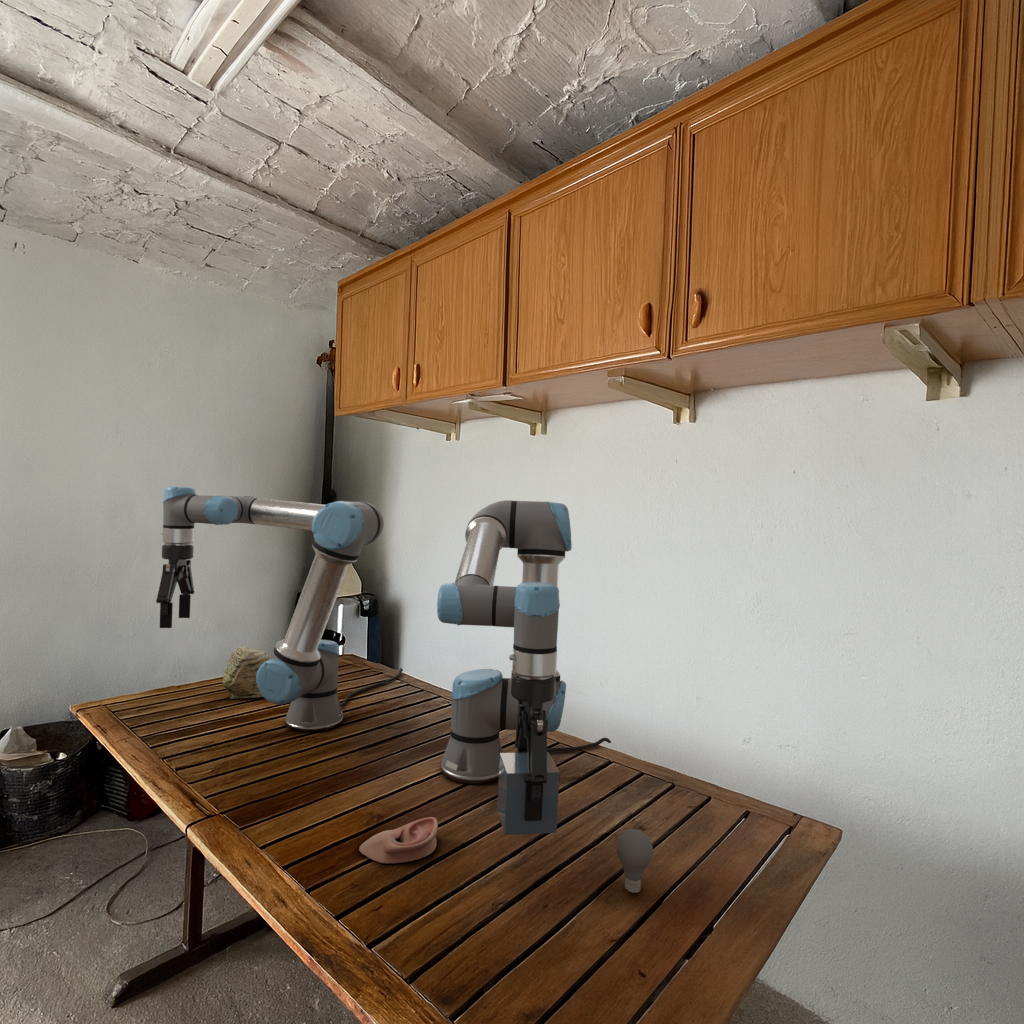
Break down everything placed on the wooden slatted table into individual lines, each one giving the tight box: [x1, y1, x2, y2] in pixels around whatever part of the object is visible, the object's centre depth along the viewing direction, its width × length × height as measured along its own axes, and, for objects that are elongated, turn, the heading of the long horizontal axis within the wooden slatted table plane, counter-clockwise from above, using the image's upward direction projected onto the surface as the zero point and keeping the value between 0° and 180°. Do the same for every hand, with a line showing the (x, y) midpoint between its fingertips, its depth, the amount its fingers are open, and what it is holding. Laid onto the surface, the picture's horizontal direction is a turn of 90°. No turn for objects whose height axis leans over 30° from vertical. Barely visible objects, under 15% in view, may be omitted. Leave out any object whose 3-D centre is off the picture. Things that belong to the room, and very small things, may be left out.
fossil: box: [222, 646, 271, 699], centre depth 198 cm, size 9×18×15 cm, turn 132°
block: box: [496, 752, 560, 836], centre depth 108 cm, size 8×9×10 cm
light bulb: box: [615, 828, 654, 894], centre depth 106 cm, size 6×6×10 cm
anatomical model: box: [358, 816, 439, 864], centre depth 116 cm, size 13×4×12 cm
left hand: (175, 622), depth 171 cm, fingers open, 13 cm apart
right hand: (527, 806), depth 108 cm, fingers closed on block, 8 cm apart
